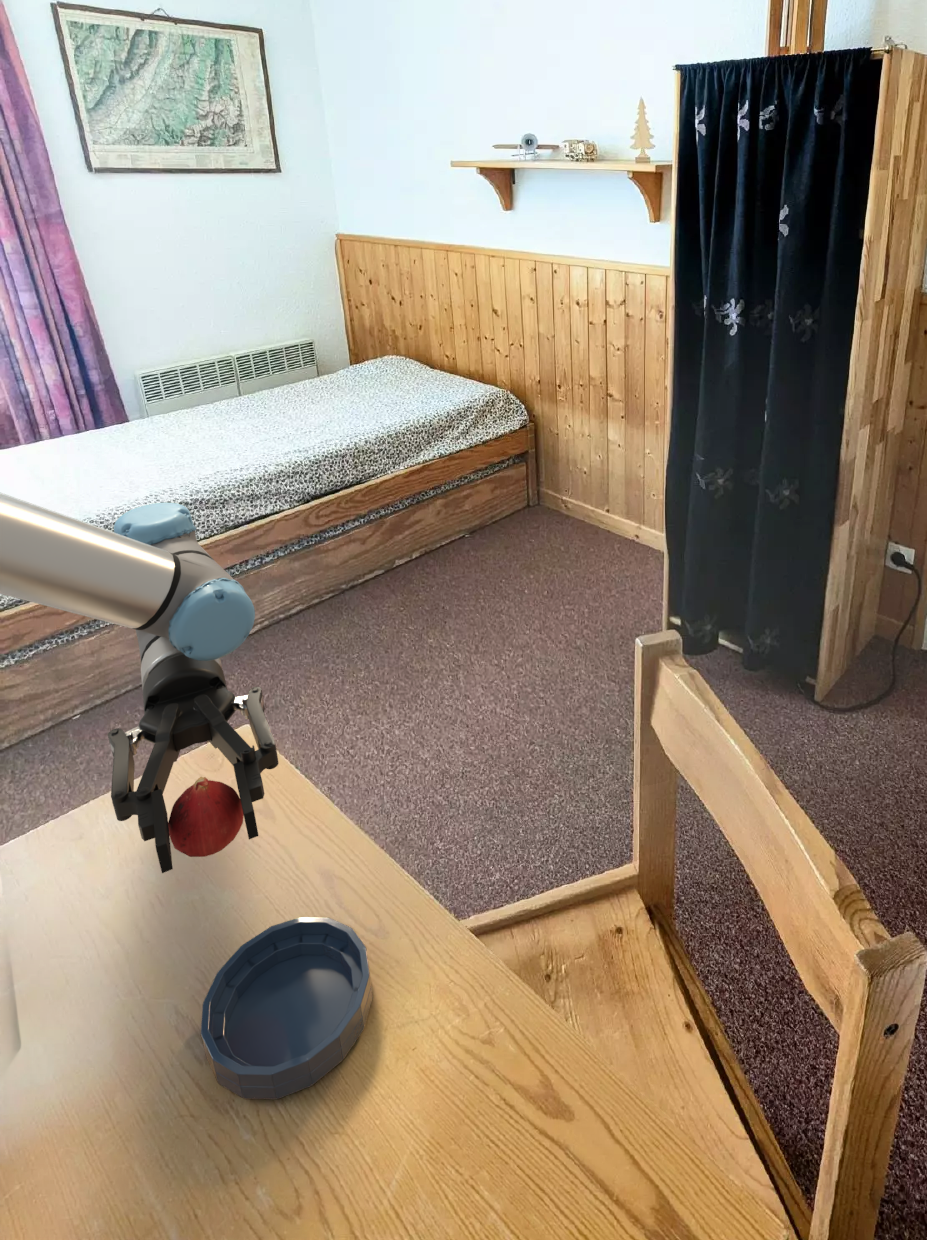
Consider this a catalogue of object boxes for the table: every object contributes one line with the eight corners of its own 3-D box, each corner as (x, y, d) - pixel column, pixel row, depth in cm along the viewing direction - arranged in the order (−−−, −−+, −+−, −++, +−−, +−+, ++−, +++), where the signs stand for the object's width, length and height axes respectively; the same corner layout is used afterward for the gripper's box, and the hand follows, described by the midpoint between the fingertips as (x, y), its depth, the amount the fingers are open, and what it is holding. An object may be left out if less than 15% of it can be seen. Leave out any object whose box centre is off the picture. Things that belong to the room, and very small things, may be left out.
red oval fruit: (186, 891, 66) (168, 818, 63) (169, 847, 70) (152, 776, 67) (257, 854, 69) (244, 783, 66) (237, 814, 73) (224, 745, 70)
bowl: (177, 1102, 62) (169, 1072, 60) (249, 942, 74) (244, 915, 73) (344, 1105, 61) (340, 1075, 60) (389, 944, 74) (386, 917, 73)
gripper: (283, 683, 88) (332, 829, 69) (86, 743, 78) (82, 930, 60) (274, 626, 85) (323, 761, 66) (69, 681, 76) (59, 856, 57)
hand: (208, 841), depth 63 cm, fingers closed on red oval fruit, 6 cm apart
